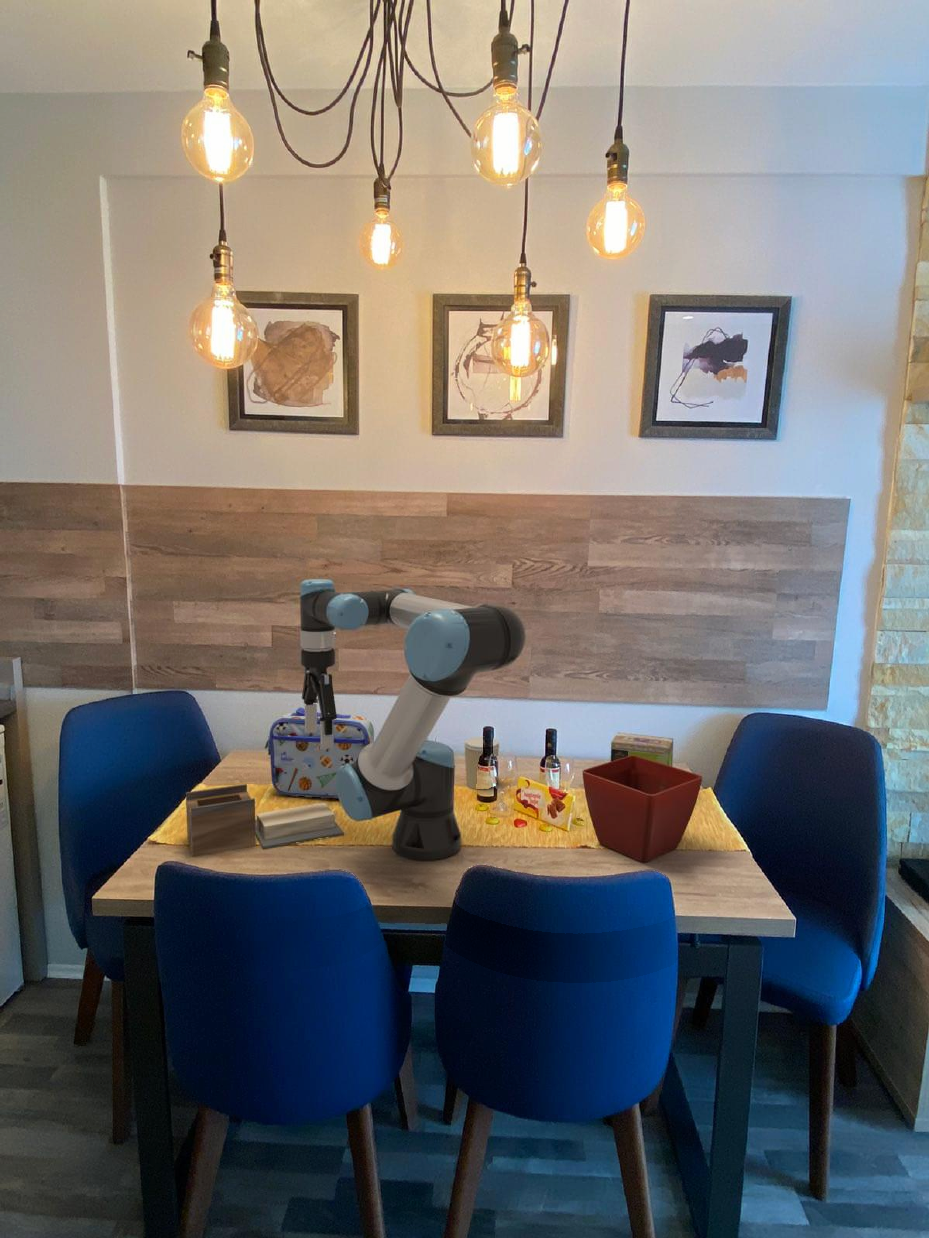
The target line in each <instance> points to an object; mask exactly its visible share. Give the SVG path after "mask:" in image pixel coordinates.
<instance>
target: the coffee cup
mask: <svg viewBox="0 0 929 1238" xmlns="http://www.w3.org/2000/svg"><path fill="white" fill-rule="evenodd" d="M483 737H484V736H475V737H474V736H473V737H470V738H467V739H466V740H465V742H464V744H463V745H464V758H465V760H464V761H465V762H464V763H465V779H466V786H467V785H468V786H467V788H470V787H471V788H470V789H472V788H473V789H472V790H476V784H477V771H478V762H479V757H480V756H481V755H482V753H483ZM499 749H500V743H499V741H498V740H497V739H495V738H493V753H494V754H495V755H496V756H498V757H499Z"/></svg>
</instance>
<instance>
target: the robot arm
mask: <svg viewBox="0 0 929 1238" xmlns="http://www.w3.org/2000/svg"><path fill="white" fill-rule="evenodd" d="M299 610H300V611H299V612H300V613H299V614H300V633H299V634H300V647H301V648H302V649H301V650H300V664H301V666H302V667H303V668H304V678H303V686H302V692H301V694H302V695H301V699H302V700H303V704H304V709H305V732H306V733H307V732H316V731H317V712H318V705H319V710H320V713H321V716H322V717H320V718H319V721H320V722H321V749H329V748H334V725H333V720H334V719H337V714H338V713H337V710H336V700H335V695H334V694H335V693H334V686H333V675H332V674H331V673H330V674H329V673H328V668H329V667H330V668H331V667H333V666H335V664H336V651H335V648H334V647H335V646H336V644H335V643H336V642H335V640H336V639H335V638H336V637H337V635H338V634H337V632H336V631H335V628H336V629H338V630H341V631H356V630H359V629H360V628H362V627H365V626H366V627H368V626H375V625H376V626H377V625H393V626H396V627H401V628H404V629H407V631H406V634H405V637H404V645H405V646H406V647H405V648H404V649H403V655H404V659H405V663H406V665H407V670H408V672H409V675H408V677H407V679H406V681H405V683H404V685H403V686H402V689H401V691H400V692H399V694H398V696H397V698H396V699H395V702H394V704H393V705H392V707H391V710H390V712H389V713H388V715H387V717H386V719H385V721H384V723H383V724H382V727H381V729H380V731H379V732H378V733H377V736H376V737H375V739H374V743H371V744H369V745H367V746H365V747H364V748H363V749H362V751H361V752H360V754H359V756H358V758H357V760H356V761H355V762H354V763H352V764H348V763H347V764H345V765H344V766H341V767H340V768H339V769H338V771H337V774H336V789H337V794H338V797H339V798H338V800H339V803H340V805H341V807H342V810H343V811H344V813H345V814H346V815H347V817H349V818H350V819H351V820H353V821H355V822H363V821H367V820H369V821H371V820H372V819H376V818H379V817H382V816H385V815H389V814H392V813H396V812H398V811H400V812H399V815H398V818H397V821H396V824H395V827H394V830H393V832H392V835H391V836H392V837H391V842H392V843H391V846H392V849H393V851H394V852H395V853H396V854H398V855H399V856H401V857H403V858H407V859H411V860H415V861H435V860H443V859H446V858H449V857H451V856H454V855H455V854H456V853H458V852H459V851H460V849H461V848H462V847H461V846H462V833H461V831H460V828H459V824H458V821H457V818H456V815H455V810H454V806H455V772H456V771H455V769H456V765H455V763H456V762H455V752H454V750H453V748H452V747H451V746H449V745H447V744H446V743H443V742H439V741H434V740H428V737H429V736H430V734H431V732H432V730H433V729H434V727H435V726H436V724H437V722H438V721H439V719H440V717H441V715H442V714H443V712H444V711H445V708H446V706H447V705H448V703H449V702H450V700H451V698H454V697H458V696H460V695H461V694H463V693H464V692H465V691H466V690H467V687H468V686H469V685H470V684H471V681H472V679H473V678H474V676H475V675H477V674H480V673H484V672H485V673H486V672H490V671H496V670H500V669H504V668H506V667H508V666H510V665H512V664H513V663H514V662H515V661H516V660H517V659H518V658H519V657H520V656H521V654H522V652H523V650H524V647H525V644H526V639H527V637H526V636H527V635H526V628H525V625H524V623H523V621H522V619H521V618H520V617H519V615H518V614H517V613H516V612H515V611H513V610H512V609H510V608H508V607H505V606H501V605H492V604H487V603H482V604H477V605H475V606H470V605H466V604H461V603H456V602H451V601H447V600H441V599H438V598H431V597H428V596H423V595H417V594H415V593H414V591H412V590H411V589H408V588H404V589H403V588H392V589H386V590H385V589H383V590H369V591H368V590H366V591H351V592H349V591H348V592H340V591H336V589H335V583H334V581H333V580H331V579H324V578H323V579H321V578H315V579H314V578H311V579H310V578H309V579H304V580H303V581H301V583H300V594H299Z"/></svg>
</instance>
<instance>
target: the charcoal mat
mask: <svg viewBox="0 0 929 1238" xmlns="http://www.w3.org/2000/svg"><path fill="white" fill-rule="evenodd" d="M255 828H256V839H257V841H258V843H259V844H260V846H261V848H262V850H267V849H272V848H277V847H285V846H288V845H289V844H290V845H294V844H293V843H295V844H297V843H296V842H301V843H305V842H304V841H306V842H311V841H310V840H312V841H315V840H314V839H318V838H323V839H327V838H326V837H329V838H332V837H331V836H334V837H338V836H337V835H340V836H344V835H345V833H344V831H343V829H342V828H341V827H340V826H339V824H338V822H336V821H335V827H331V828H326V829H320V830H315V831H310V832H304V833H299V834H293V835H288V836H282V837H277V838H271V839H266V840H265V839H264V837H263V836H262V834H261V832H260V830H259V829H258V827H257V818H255ZM318 840H319V839H318Z"/></svg>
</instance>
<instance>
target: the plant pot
mask: <svg viewBox="0 0 929 1238" xmlns="http://www.w3.org/2000/svg"><path fill="white" fill-rule="evenodd" d="M582 781H583V787H584V794H585V799H586V804H587V809H588V812H589V817H590V820H591V824H592V826H593V830H594V832H595V833H594V834H595V836H596V838H597V841H598V843H599V844H600V845H602V846H604V847H607V848H608V849H611V850H614V851H616V852H618V853H620V854H623V855H625V856H627V857H630V858H632V859H634V860H637V861H639V862H642V863H647V862H649V861H651V860H653V859H656V858H658V857H660V856H663V855H664V854H667V853H669V852H672V851H673V850H675V849H677V848H678V846H679V844H680V843H681V841H682V839H683V836H684V834H685V832H686V829H687V827H688V825H689V822H690V820H691V818H692V814H693V812H694V810H695V806H696V804H697V800H698V798H699V793H700V789H701V786H702V782H703V776H702V775H700V774H697V773H694V772H691V771H688V770H685V769H681V768H678V767H675V766H673V765H672V766H669V765H665V764H662V763H659V762H655V761H652V760H649V759H646V758H642V757H639V756H634V755H631V756H628V757H624V758H621V759H618V760H614V761H611V760H610V761H607V762H605V763H601V764H598V765H594V766H591V767H588V768H586V769H583V770H582Z"/></svg>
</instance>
